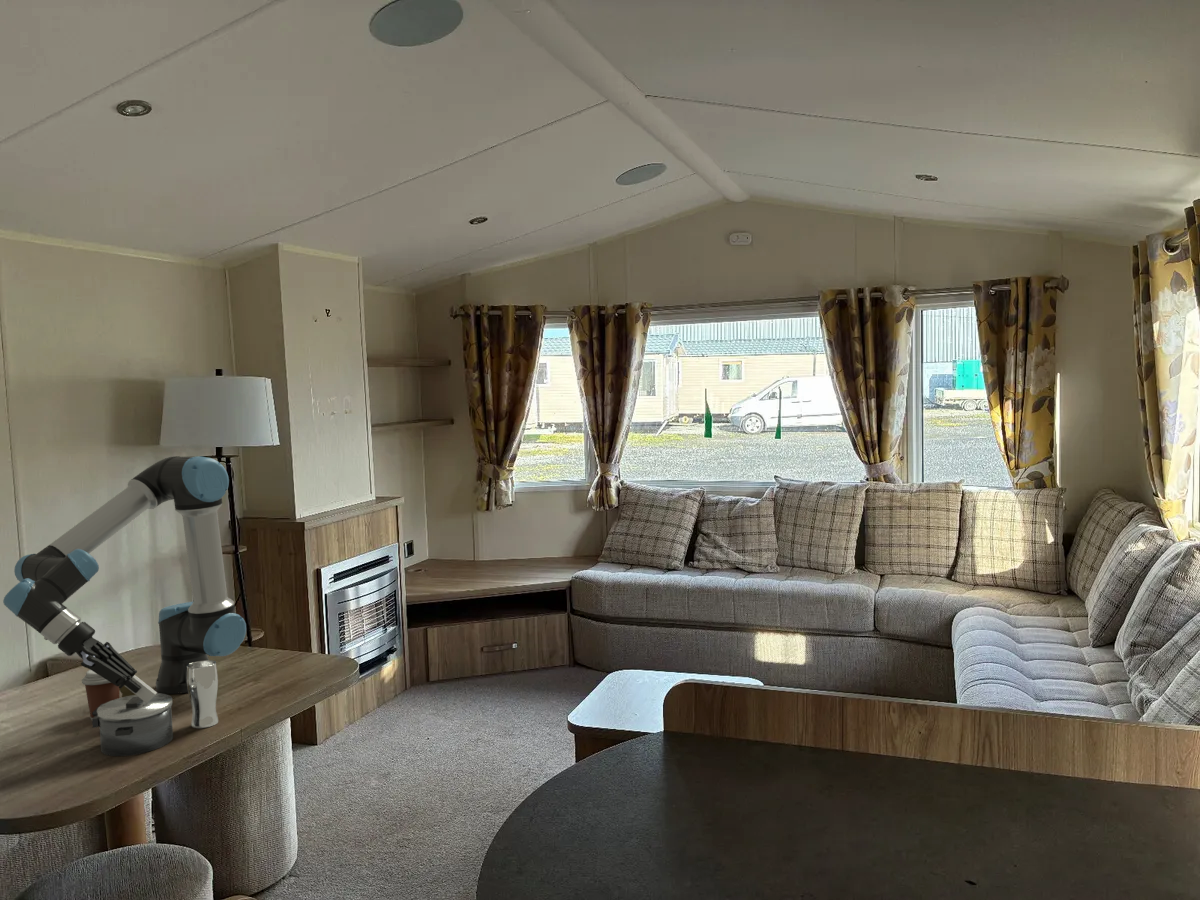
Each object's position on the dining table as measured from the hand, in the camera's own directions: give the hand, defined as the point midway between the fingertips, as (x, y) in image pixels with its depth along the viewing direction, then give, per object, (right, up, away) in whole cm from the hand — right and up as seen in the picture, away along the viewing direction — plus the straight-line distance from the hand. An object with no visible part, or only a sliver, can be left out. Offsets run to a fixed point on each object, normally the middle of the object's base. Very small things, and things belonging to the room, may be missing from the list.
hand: (151, 697), depth 210 cm
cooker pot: (-3, -11, 0) cm, 11 cm away
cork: (-12, -10, +14) cm, 21 cm away
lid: (-4, -3, -1) cm, 5 cm away
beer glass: (+7, -10, +11) cm, 17 cm away
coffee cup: (-21, -10, +19) cm, 31 cm away
